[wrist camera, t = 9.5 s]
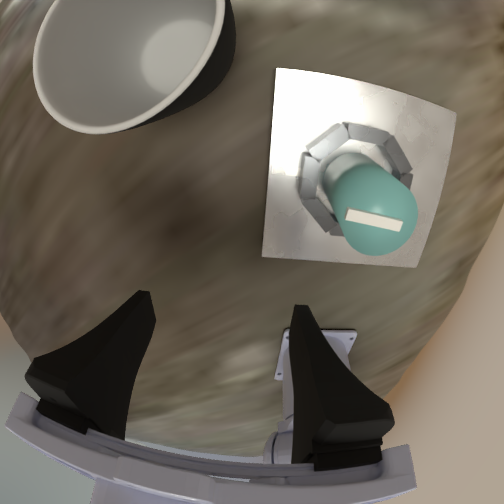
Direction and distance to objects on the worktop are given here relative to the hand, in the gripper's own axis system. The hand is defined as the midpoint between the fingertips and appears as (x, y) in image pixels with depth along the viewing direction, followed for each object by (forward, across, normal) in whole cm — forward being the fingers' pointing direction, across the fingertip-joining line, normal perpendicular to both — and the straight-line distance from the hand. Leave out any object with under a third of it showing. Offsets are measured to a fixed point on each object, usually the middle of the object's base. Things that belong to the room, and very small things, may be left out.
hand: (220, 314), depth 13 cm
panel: (+10, -9, -5) cm, 14 cm away
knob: (+9, -8, -5) cm, 13 cm away
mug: (+10, +6, -13) cm, 18 cm away
